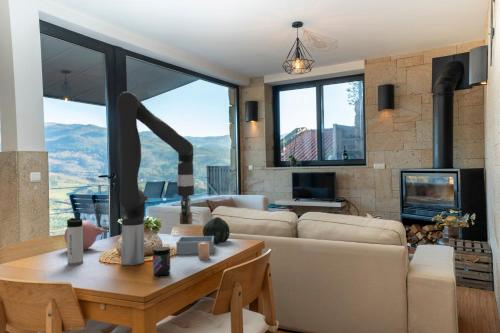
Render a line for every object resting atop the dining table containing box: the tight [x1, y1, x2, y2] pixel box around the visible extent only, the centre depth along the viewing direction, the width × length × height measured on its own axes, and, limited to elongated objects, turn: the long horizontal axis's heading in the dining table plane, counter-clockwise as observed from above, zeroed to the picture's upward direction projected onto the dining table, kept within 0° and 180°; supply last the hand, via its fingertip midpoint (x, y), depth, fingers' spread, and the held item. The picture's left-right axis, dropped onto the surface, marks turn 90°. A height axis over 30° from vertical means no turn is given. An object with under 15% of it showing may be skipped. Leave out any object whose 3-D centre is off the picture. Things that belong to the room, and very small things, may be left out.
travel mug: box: [66, 217, 84, 266], centre depth 161 cm, size 6×7×20 cm
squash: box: [202, 216, 231, 244], centre depth 203 cm, size 14×15×15 cm
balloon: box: [64, 219, 107, 251], centre depth 189 cm, size 15×20×15 cm
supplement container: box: [152, 246, 171, 278], centre depth 142 cm, size 7×7×10 cm
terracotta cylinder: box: [198, 242, 210, 261], centre depth 167 cm, size 5×5×7 cm
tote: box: [175, 235, 215, 255], centre depth 183 cm, size 18×14×6 cm
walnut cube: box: [179, 211, 193, 225], centre depth 163 cm, size 5×5×5 cm
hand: (186, 222), depth 163 cm, fingers closed on walnut cube, 5 cm apart
